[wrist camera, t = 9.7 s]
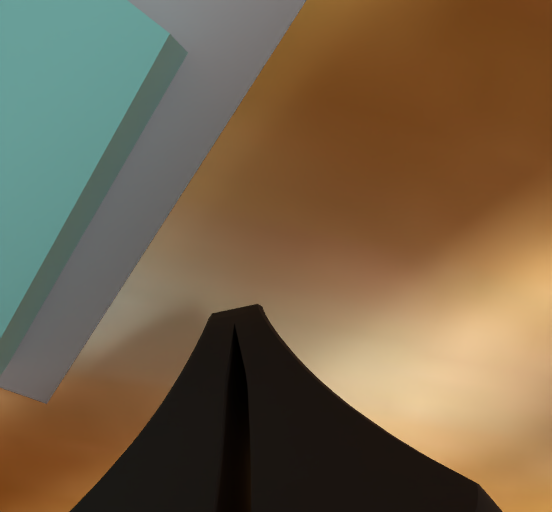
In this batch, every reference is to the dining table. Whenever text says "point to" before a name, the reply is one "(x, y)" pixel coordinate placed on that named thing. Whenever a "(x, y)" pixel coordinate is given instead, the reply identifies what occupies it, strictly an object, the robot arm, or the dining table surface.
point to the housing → (66, 132)
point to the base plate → (151, 173)
